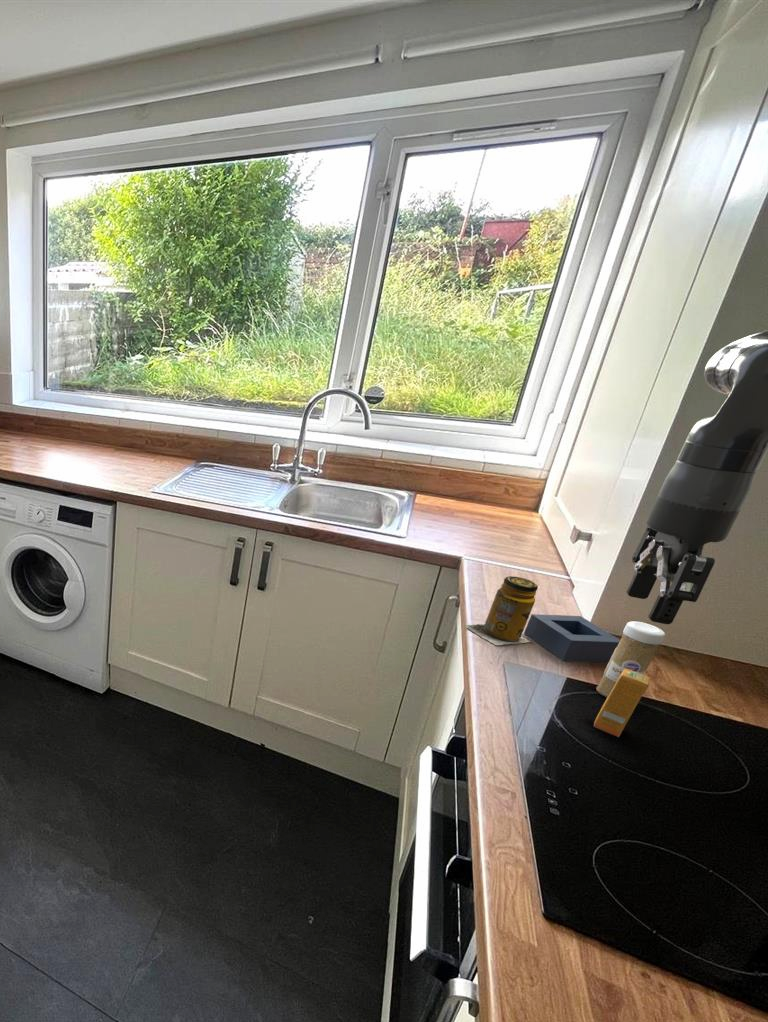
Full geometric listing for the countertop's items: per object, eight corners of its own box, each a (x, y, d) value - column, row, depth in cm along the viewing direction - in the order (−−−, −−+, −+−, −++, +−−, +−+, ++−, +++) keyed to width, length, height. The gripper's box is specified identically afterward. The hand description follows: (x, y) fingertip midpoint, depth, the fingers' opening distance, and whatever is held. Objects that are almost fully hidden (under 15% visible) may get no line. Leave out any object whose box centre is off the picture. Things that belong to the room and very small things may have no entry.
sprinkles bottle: (602, 699, 98) (635, 630, 93) (590, 684, 102) (622, 617, 97) (636, 706, 96) (672, 637, 91) (623, 691, 100) (657, 623, 95)
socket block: (614, 663, 109) (624, 642, 107) (562, 661, 109) (571, 640, 107) (572, 635, 118) (580, 615, 116) (523, 633, 118) (531, 614, 116)
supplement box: (621, 739, 89) (649, 684, 85) (592, 727, 91) (618, 674, 87) (624, 729, 91) (651, 676, 87) (595, 718, 93) (621, 666, 89)
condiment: (530, 642, 114) (553, 588, 110) (495, 646, 113) (516, 591, 108) (497, 623, 121) (517, 571, 116) (463, 626, 119) (482, 574, 115)
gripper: (770, 520, 68) (706, 639, 74) (713, 490, 80) (662, 595, 86) (683, 509, 71) (629, 624, 77) (641, 481, 83) (597, 583, 89)
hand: (646, 608), depth 82 cm, fingers open, 8 cm apart
